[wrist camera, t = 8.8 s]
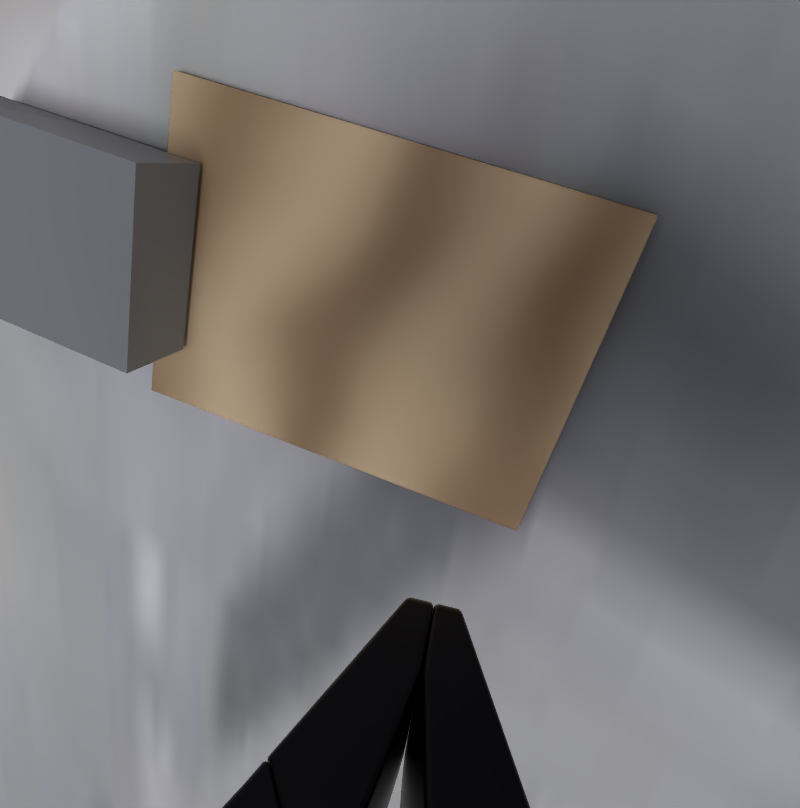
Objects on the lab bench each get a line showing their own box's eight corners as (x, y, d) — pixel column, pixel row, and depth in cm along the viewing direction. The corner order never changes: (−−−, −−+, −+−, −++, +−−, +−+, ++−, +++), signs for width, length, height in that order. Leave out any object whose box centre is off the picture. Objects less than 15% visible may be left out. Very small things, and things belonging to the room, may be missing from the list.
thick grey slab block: (135, 162, 17) (-94, 83, 19) (126, 373, 20) (-70, 288, 22) (202, 163, 20) (-3, 94, 21) (185, 348, 23) (7, 275, 24)
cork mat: (656, 214, 17) (658, 215, 17) (517, 524, 22) (516, 530, 22) (180, 71, 19) (172, 70, 19) (157, 386, 24) (151, 389, 24)
